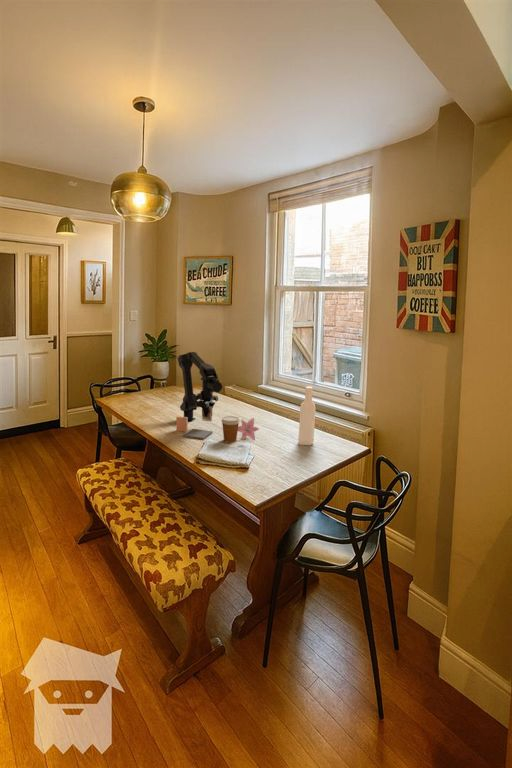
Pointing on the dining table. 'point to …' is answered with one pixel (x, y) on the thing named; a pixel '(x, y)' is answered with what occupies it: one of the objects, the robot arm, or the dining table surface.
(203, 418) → the brown wooden block
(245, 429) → the lily
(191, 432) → the rest mat
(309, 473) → the dining table surface
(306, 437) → the bottle
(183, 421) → the tile
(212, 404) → the robot arm
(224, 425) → the disposable coffee cup
